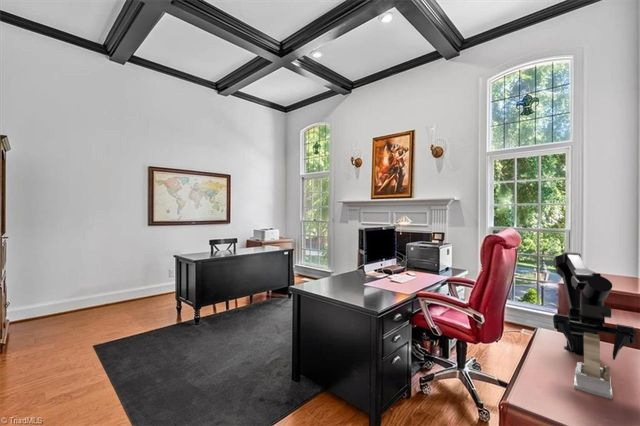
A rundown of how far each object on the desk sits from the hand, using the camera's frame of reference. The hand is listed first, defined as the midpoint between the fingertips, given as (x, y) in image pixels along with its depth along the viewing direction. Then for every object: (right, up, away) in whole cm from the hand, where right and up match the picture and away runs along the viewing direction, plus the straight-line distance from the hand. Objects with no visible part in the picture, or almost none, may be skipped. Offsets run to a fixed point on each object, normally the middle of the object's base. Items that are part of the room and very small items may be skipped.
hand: (592, 354), depth 89 cm
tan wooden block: (+1, -8, +1) cm, 8 cm away
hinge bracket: (+1, -9, +1) cm, 9 cm away
